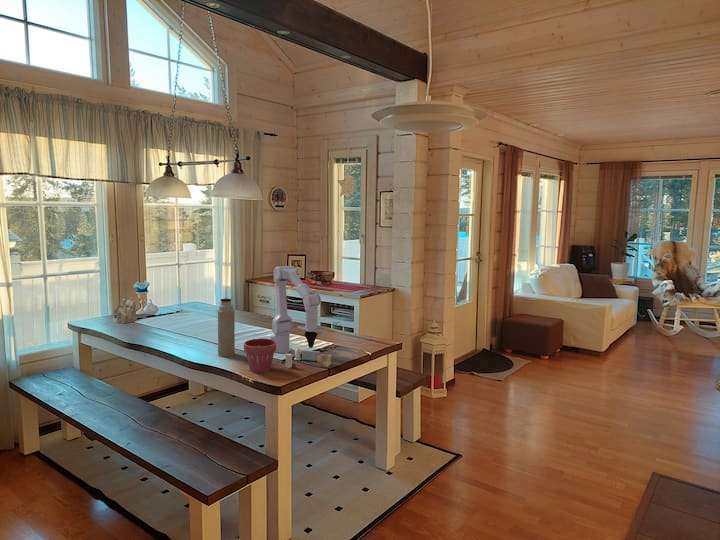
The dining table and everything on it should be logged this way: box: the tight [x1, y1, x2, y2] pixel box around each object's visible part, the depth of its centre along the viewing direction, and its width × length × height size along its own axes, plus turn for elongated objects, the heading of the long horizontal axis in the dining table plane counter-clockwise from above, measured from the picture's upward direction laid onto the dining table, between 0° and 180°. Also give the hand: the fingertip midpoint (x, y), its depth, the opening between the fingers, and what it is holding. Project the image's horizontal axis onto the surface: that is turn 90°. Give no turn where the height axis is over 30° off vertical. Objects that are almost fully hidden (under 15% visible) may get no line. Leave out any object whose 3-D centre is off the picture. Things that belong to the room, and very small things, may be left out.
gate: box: [301, 349, 321, 362], centre depth 239 cm, size 9×1×4 cm, turn 78°
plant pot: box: [243, 338, 276, 374], centre depth 223 cm, size 14×14×13 cm
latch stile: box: [285, 353, 293, 369], centre depth 231 cm, size 3×7×6 cm, turn 168°
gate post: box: [293, 348, 302, 361], centre depth 241 cm, size 4×4×5 cm
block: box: [317, 353, 332, 368], centre depth 233 cm, size 5×5×4 cm
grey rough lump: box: [112, 296, 138, 324], centre depth 310 cm, size 16×16×15 cm
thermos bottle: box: [217, 297, 236, 358], centre depth 243 cm, size 8×8×28 cm
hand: (311, 347), depth 235 cm, fingers closed
